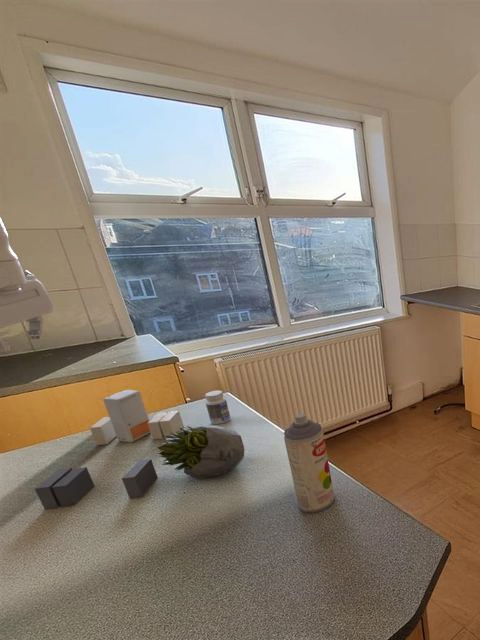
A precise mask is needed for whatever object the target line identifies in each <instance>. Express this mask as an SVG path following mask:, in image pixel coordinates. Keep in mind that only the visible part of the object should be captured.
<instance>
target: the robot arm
mask: <svg viewBox="0 0 480 640" xmlns="http://www.w3.org/2000/svg"><path fill="white" fill-rule="evenodd" d="M53 311H54V304H53V301H52V299H51V297H50V296H49V293H48V292H47V289H46V287H45V286H44V284H43V283H42V282H41V281H40V280H39V279H37V277H36V275H34V274H33V273H32V272H29V270H27V269H26V270H25V269H24V270H23V268H22V264H21V262H20V260H19V257H18V256H17V254H16V253H15V252H14V251H13V249H12V247H11V245H10V237H9V233H8V231H7V229H6V226H5V224H4V222H3V220H2V217H0V330H1V329H4V328H6V327H10V326H14V325H16V324H19V323H22V322H25V321H26V322H27V323H28V327H29V330H27V331H26V332H27V334H28V335H29V336H28V337H29V338H30V339H31V340H40V339H43V338H44V337H45V335H46V334H45V333H44V330H43V328H44V319H43V316H45V315H46V314H50V313H53ZM11 350H12V348H11V346H10V343H9V341H4V340H3V339H2V338H1V337H0V354H1V353H6V352H8V351H11Z"/></svg>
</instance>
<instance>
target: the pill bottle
mask: <svg viewBox="0 0 480 640" xmlns="http://www.w3.org/2000/svg"><path fill="white" fill-rule="evenodd" d="M204 396H205V406H206V410H207V413H208V416H209V421H210V423H211V424H214V425H218V424H219V425H220V424H225V423H227V422H228V421H230V420H231V414H230V411H229V406H228V401H227V399H226V397H225V396H224V392H223V391H222V390H212V391H209V392H207V393H205V394H204Z"/></svg>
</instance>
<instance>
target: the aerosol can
mask: <svg viewBox="0 0 480 640" xmlns="http://www.w3.org/2000/svg"><path fill="white" fill-rule="evenodd" d="M294 419H295V420H294V421H293V422H292V423H291V424H290V425H289V427H286V429H285V430H284V432H283V435H284V436H283V440H284V445H285V449H286V454H287V459H288V462H289V468H290V472H291V478H292V482H293V486H294V487H293V488H294V492H295V496H296V500H297V505H298V509H299V510H300V511H301V512H302V513H305V514H316V513H321V512H322V511H325V510H327V509H329V508H330V507H332V505H333V504H334V502H335V499H336V498H335V493H334V488H333V487H334V486H333V482H332V481H333V480H332V474H331V469H330V464H329V457H328V453H327V452H328V451H327V446H326V440H325V435H324V430H323V429H322V425H321V424H320V423H318V422H315V421H313V420H311V419H309V418H307V417H306V414H305V413H298V414H296V415H295V416H294Z"/></svg>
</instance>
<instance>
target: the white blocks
mask: <svg viewBox="0 0 480 640" xmlns="http://www.w3.org/2000/svg"><path fill="white" fill-rule="evenodd" d="M147 424H148V427H149V430H150V432H151V433H150V436H151V438H152V440H153V441H154V440H155V441H156V440H163V439H168V438H167V437H166V436H168V435H170V436H171V435H173V434H177V433H176V432H178V431H182V430H181V429H180V428H182V429H184V428H185V425H184V423H183V419H182V415H181V413H180V410H171V411H163V412H162V411H161V412H157V413H156V414H155V415H154V416H153V417H152V418H151V419H149V422H148V423H147ZM179 427H180V428H179ZM89 429H90V432H91V434H92V438H93V439H94V442H95V444H96V446H104V445H108V444H109V443H111V441H113V440H114V439H115V438H117V436H116V433H115V431H114V428H113V425H112V422H111V420H110V417H109V416H104V417H102V418H100V419H99V420H98V421H96V422H95V423H94V424H92V425H91V426H90V427H89ZM171 433H173V434H171ZM177 435H178V434H177Z"/></svg>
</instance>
